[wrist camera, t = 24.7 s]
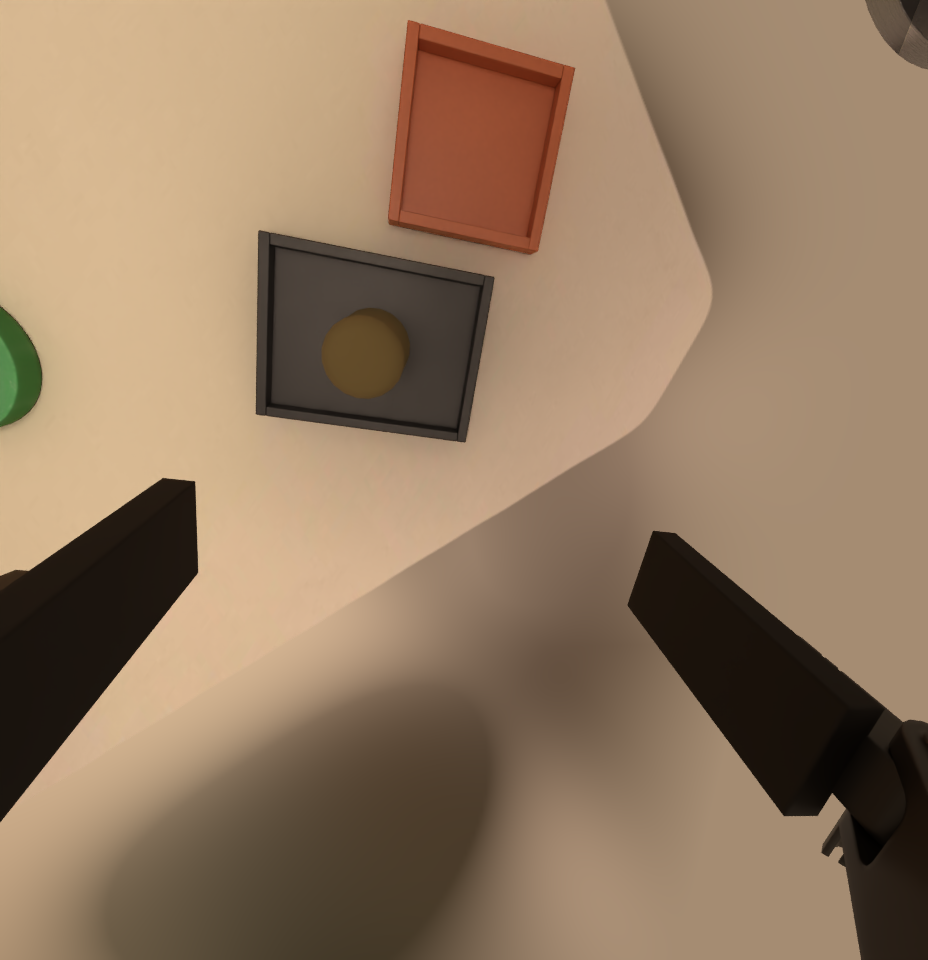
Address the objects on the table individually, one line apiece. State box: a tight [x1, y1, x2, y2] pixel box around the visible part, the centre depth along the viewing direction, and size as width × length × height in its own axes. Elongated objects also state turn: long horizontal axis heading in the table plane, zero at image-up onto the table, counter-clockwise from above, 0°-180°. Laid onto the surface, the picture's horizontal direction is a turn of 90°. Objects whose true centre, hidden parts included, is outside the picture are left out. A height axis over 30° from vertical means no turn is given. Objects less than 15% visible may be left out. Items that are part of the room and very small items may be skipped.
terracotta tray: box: [388, 20, 575, 254], centre depth 33 cm, size 12×12×2 cm
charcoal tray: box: [256, 231, 494, 442], centre depth 37 cm, size 18×14×2 cm
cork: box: [322, 308, 410, 399], centre depth 32 cm, size 6×6×11 cm
